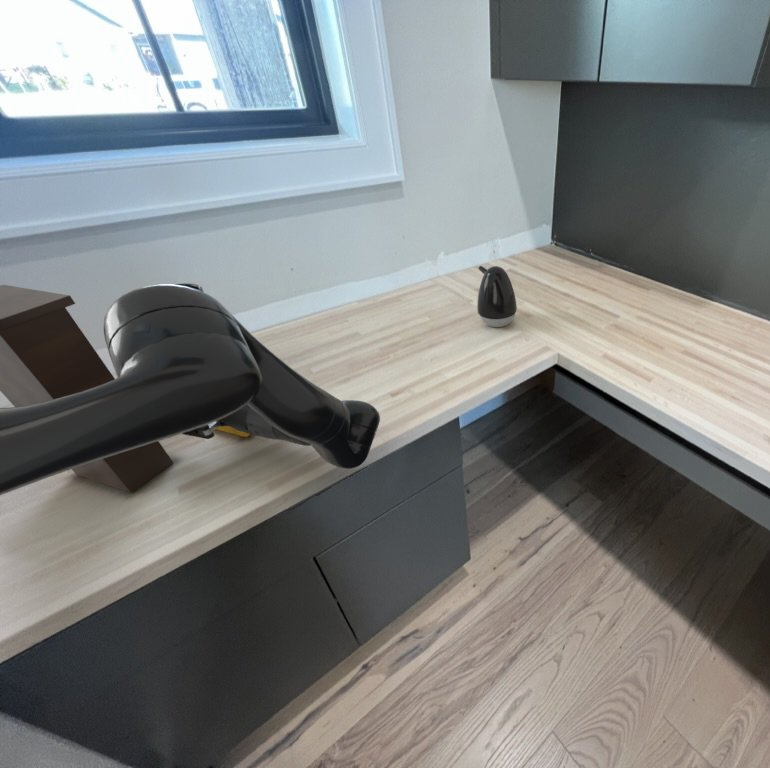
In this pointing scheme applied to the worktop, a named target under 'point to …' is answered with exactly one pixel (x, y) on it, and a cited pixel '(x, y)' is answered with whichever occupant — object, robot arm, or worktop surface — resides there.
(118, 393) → the robot arm
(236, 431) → the hammer
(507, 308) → the pump dispenser
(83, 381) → the stand
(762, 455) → the worktop surface
